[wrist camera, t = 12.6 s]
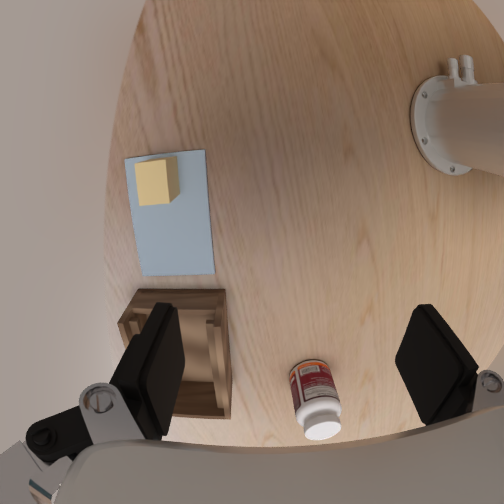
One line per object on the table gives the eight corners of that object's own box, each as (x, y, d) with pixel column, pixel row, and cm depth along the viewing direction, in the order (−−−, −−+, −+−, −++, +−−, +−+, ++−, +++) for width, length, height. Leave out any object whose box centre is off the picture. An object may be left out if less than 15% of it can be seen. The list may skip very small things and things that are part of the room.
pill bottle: (309, 390, 42) (321, 446, 31) (280, 377, 40) (287, 437, 30) (337, 367, 40) (356, 424, 30) (308, 352, 38) (324, 413, 28)
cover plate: (128, 158, 28) (106, 163, 23) (205, 149, 28) (197, 151, 23) (145, 272, 34) (130, 294, 29) (215, 270, 34) (210, 293, 29)
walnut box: (138, 288, 34) (117, 323, 27) (225, 289, 34) (220, 326, 27) (161, 377, 40) (151, 414, 33) (232, 380, 40) (230, 419, 33)
